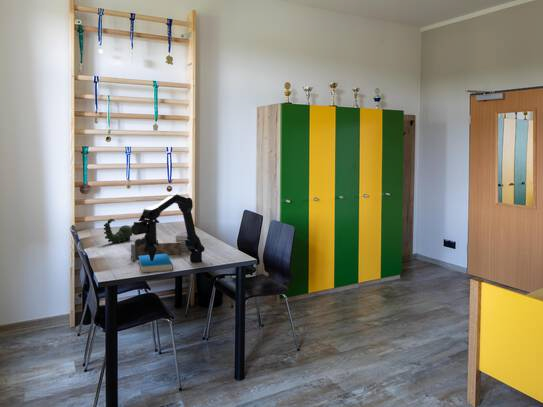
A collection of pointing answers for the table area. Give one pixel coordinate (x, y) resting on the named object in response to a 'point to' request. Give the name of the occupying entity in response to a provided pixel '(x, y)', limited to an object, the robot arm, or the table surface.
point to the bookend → (134, 252)
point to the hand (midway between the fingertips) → (151, 261)
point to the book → (155, 263)
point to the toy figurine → (121, 235)
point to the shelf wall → (161, 249)
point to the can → (182, 241)
